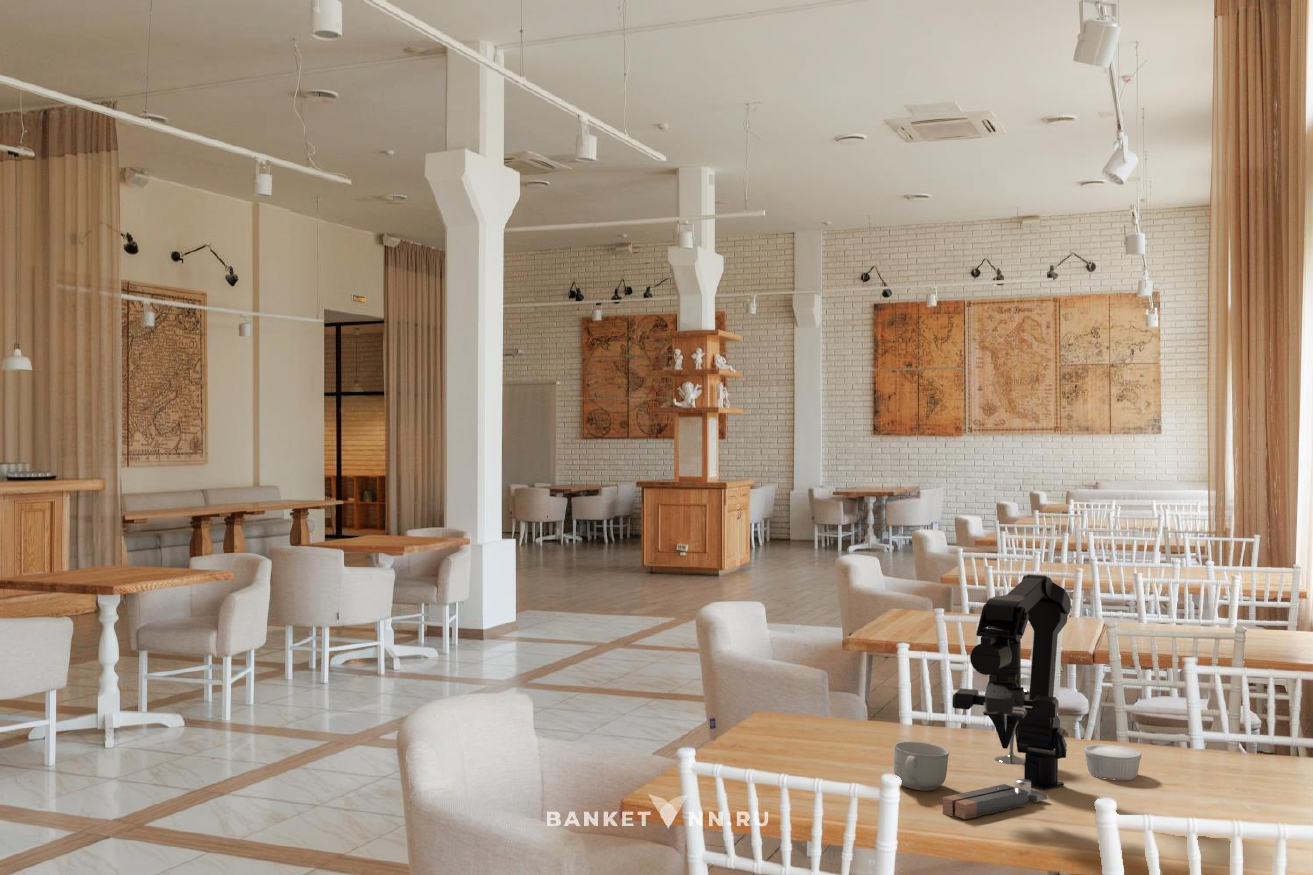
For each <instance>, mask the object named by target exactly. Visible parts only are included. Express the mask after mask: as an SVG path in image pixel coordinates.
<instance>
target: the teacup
mask: <svg viewBox="0 0 1313 875" xmlns="http://www.w3.org/2000/svg"><path fill="white" fill-rule="evenodd" d="M893 748H894V750H893V752H894V753H893V754H894V755H893V771H894V776H895V775H897V776H899V777H900V778H901V780H902V783H901V785H903V787H906V788H908V789H911V790H915V791H916V790H917V791H921V792H922V791H924V792H925V791H926V792H927V791H934V790H937V788H938V787H940V786H942V785H943V784H944V783H945V781H946V779H947V774H948V764H949V755H950V751H949V750H948V749H947V748H946V747H943V746H940V745H936V744H932V743H927V742H923V741H900V742H897V743H895V744H894V745H893Z"/></svg>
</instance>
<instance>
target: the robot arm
mask: <svg viewBox="0 0 1313 875" xmlns="http://www.w3.org/2000/svg"><path fill="white" fill-rule="evenodd" d="M1071 608H1072V601H1071V597H1070V596H1069V594H1068V592H1067V591H1066V589H1065V588H1063V587H1062V586H1060V585H1058V584H1057V583H1055V582H1053V580H1052V579H1051V577H1050V576H1047V575H1043V574H1026V575H1023V577H1022V579H1021V581H1020V582H1019V583H1017V585H1016V586H1014V587H1013V588H1012V590H1010V591H1009V592H1007V594H1005V595H995V596H993V597H990V598H989V599H988V600H987V601H986V602H985V604H983V607H982V609H981V614H980V617H979V622H978V625H977V630H976V634H975V636H976V637H980V643H979V644H976V645H975V646H974V647H973V648H972V650H971V652H970V653H969V654H970V655H969V659H970V661H969V662H970V663H971V666H972V668H973V669H974V671H976V672H977V673H978V674H980V675H984V676H988V681H987V686H986V688H985V694H984V695H983V694H982V695H981V694H979V690H978V689H974V688H973V689H971V688H962V687H961V688H959V689H957V691H956V692H955V693H954V694H952V698H951V699H952V700H951V701H952V704H951V705H952V708H953V709H957V710H958V709H959V710H966V711H967V710H970V709H971V708H972V707H973V706H974V705H975V706H983V709H984V710H983V716H985V717H986V716H987V717H989V719H990V720H991V721H992V723H993V726H994V727H995V730H996V732H997V735H998V739H999V742H1000V745H1001V747H1002V749H1007V750H1008V748H1009V747H1010V744H1009V743H1010V740H1011V737H1012V734H1013V731H1014V728H1015V726H1016V730H1015V736H1014V737H1015V741H1016V749H1017V754H1018V753H1019V754H1022V753H1023V754H1024V755H1025V757H1024V758H1025V763H1024V764H1023V765H1024V766H1023V768H1024V769H1023V770H1024V772H1023V774H1024V776H1023V779H1027V780H1030V781H1031V787H1034V788H1037V789H1041V790H1049V789H1054V788H1058V787H1063V786H1065V782H1063V781H1060V780H1059V779H1058V778H1059V775H1058V774H1059V770H1058V769H1059V768H1058V767H1059V765H1058V764H1059V759H1066V758H1067V751H1068V750H1067V748H1068V746H1067V741H1066V738H1065V737H1064V733H1063V732H1062V729H1061V719H1060V718H1059V715H1058V713H1059V708H1060V707H1059V705H1060V704H1059V699H1057V698H1056V696H1054V694H1055V693H1054V692H1055V691H1054V690H1055V679H1056V664H1057V663H1056V662H1057V649H1058V636H1059V633H1060V632H1061V631H1062V629H1063V628H1064V627H1065V626H1066V625H1067V623H1068V617H1069V616H1068V615H1070V612H1071ZM1028 622H1029V624H1030V625H1031V628H1032V630H1033V640H1032V641H1033V642H1032V653H1031V667H1030V680H1029V700H1027V699H1025V692H1024V690H1025V688H1024V687H1022V686H1021V685H1022V677H1021V676H1022V668H1021V667H1022V666H1021V665H1022V661H1021V660H1022V658H1021V657H1022V656H1021V655H1022V653H1021V652H1022V648H1021V647H1022V646H1021V644H1022V643H1021V640H1022V639H1023V636H1024V635H1025V631H1026V628H1027V625H1028ZM1004 714H1007V725H1006V729H1005V718H1004ZM1017 721H1018V723H1017ZM1016 723H1017V725H1016Z"/></svg>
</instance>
